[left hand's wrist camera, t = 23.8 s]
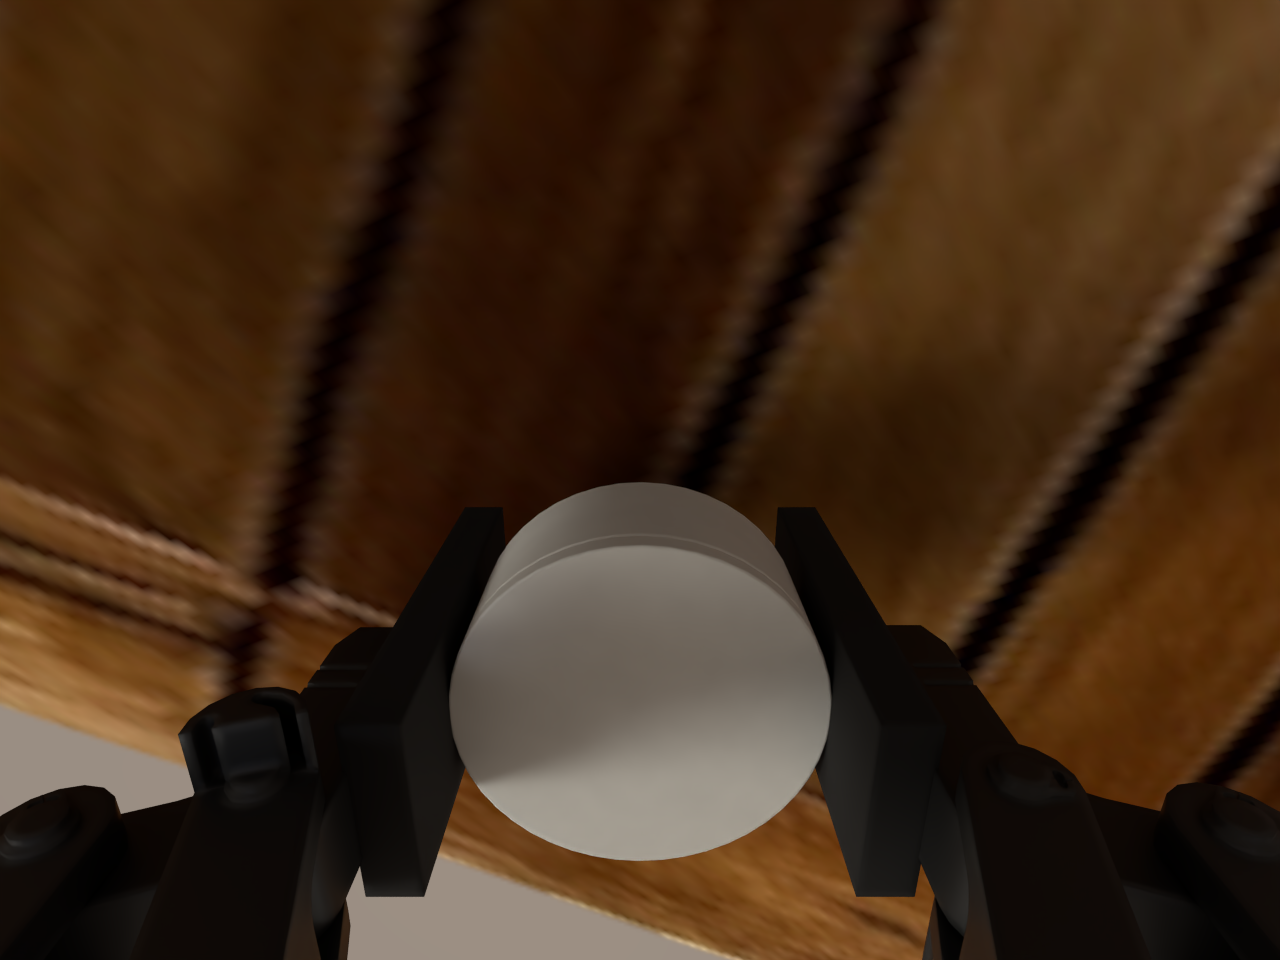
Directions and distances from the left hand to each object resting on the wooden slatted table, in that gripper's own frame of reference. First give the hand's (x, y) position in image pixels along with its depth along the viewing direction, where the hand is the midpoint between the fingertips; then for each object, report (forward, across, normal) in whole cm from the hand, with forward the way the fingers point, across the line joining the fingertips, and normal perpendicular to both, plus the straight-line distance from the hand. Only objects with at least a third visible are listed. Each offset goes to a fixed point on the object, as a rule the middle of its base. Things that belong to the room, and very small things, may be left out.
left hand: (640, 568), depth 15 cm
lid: (-4, 0, 0) cm, 4 cm away
